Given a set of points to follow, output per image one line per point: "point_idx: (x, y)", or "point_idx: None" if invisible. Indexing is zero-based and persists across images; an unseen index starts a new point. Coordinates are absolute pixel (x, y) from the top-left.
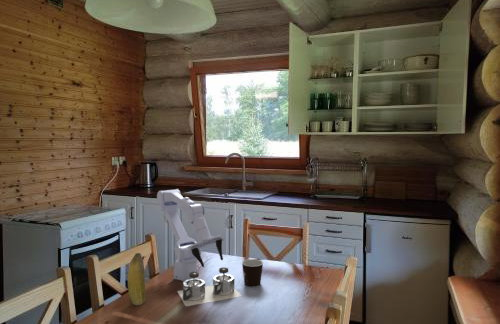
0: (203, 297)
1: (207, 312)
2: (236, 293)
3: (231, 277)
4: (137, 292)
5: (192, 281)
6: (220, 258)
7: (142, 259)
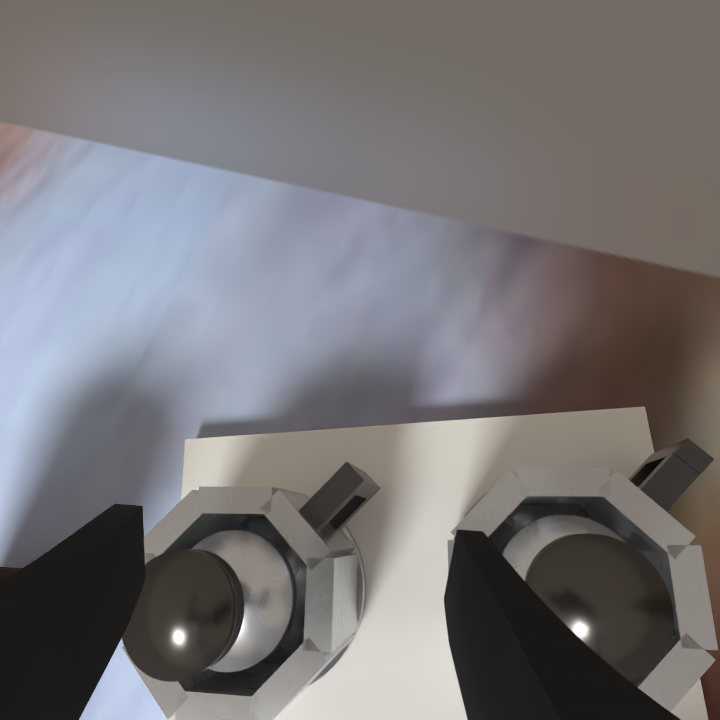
0: (474, 503)
1: (481, 315)
2: None
3: None
4: None
5: None
6: (131, 612)
7: None
